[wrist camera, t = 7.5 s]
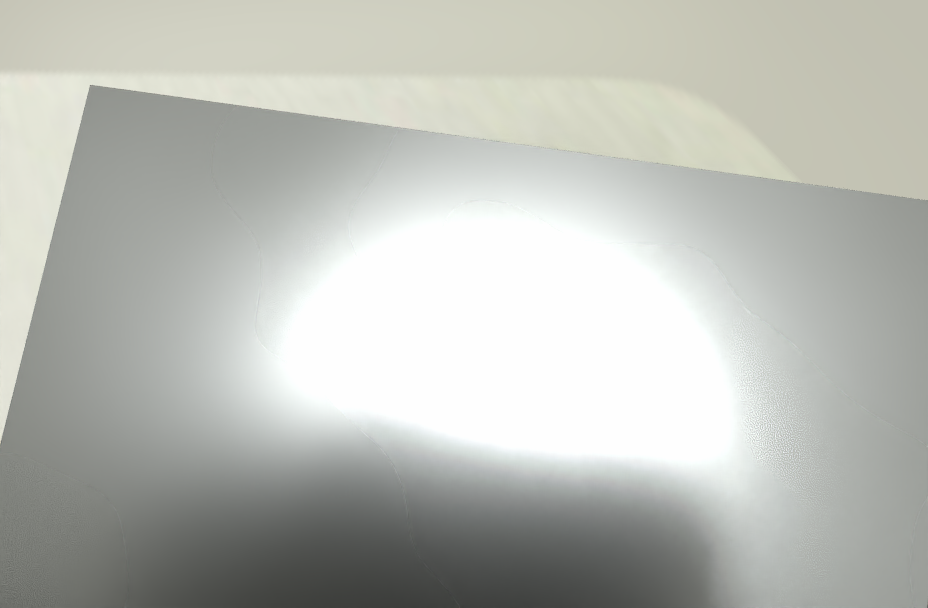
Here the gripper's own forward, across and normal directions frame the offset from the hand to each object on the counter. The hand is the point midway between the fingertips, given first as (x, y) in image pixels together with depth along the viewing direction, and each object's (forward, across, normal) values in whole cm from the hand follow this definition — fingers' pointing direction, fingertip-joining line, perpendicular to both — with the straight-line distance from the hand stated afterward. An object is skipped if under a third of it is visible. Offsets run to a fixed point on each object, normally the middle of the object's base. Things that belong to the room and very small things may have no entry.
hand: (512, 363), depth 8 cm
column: (+4, 0, +6) cm, 7 cm away
